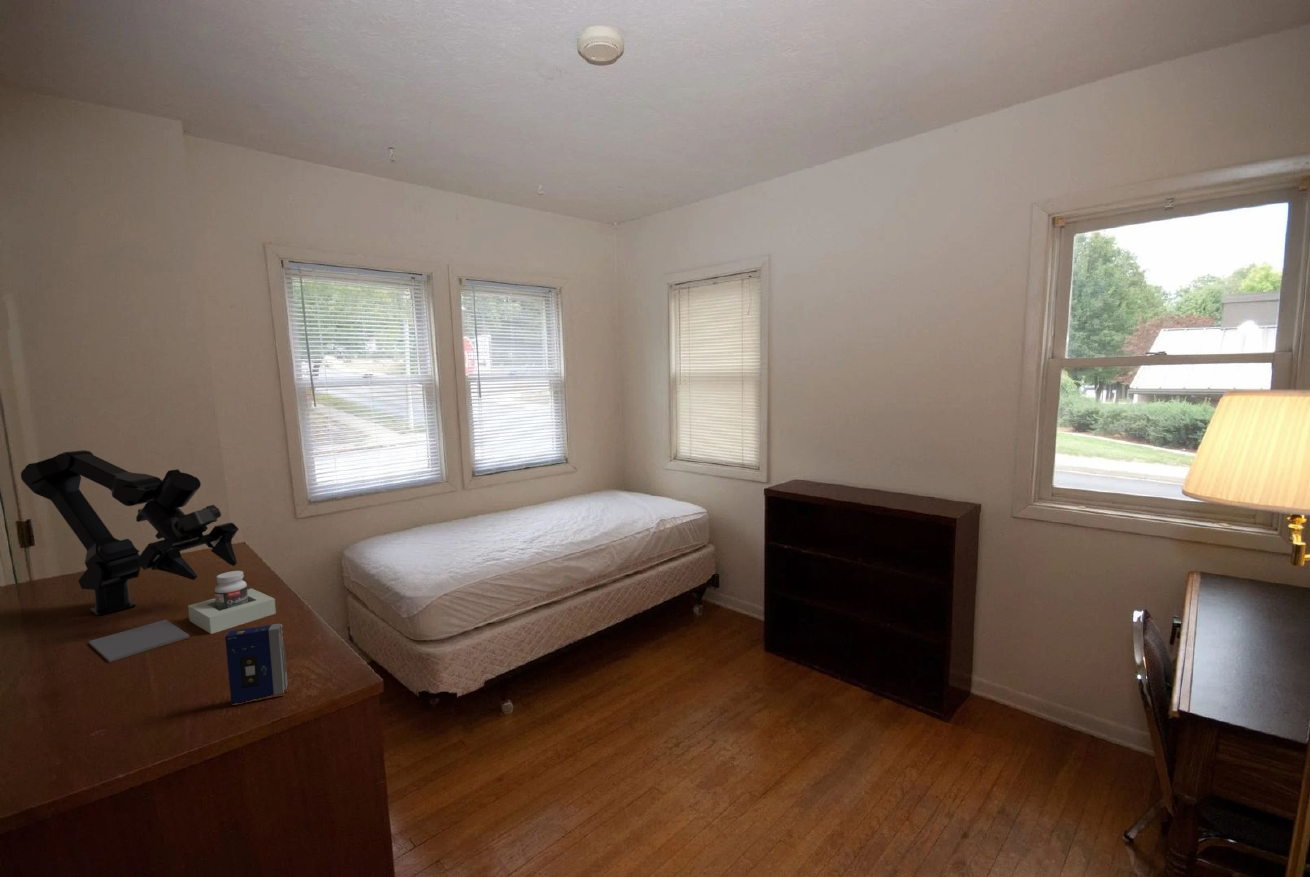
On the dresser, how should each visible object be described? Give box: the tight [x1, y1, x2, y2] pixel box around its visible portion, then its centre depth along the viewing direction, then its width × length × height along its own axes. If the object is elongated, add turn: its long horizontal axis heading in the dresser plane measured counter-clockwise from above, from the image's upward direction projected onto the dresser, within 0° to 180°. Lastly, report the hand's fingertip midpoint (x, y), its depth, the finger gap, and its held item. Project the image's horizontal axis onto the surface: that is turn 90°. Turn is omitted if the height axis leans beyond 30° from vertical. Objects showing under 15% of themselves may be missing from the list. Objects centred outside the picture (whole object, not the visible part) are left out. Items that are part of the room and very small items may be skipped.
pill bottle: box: [214, 570, 248, 611], centre depth 122 cm, size 6×6×10 cm
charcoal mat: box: [88, 619, 190, 663], centre depth 111 cm, size 14×12×1 cm
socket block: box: [187, 588, 277, 635], centre depth 122 cm, size 12×12×4 cm
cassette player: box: [224, 622, 289, 705], centre depth 90 cm, size 7×2×12 cm, turn 114°
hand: (216, 571), depth 122 cm, fingers open, 9 cm apart
